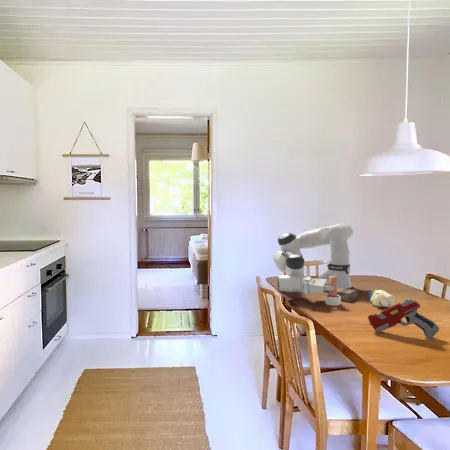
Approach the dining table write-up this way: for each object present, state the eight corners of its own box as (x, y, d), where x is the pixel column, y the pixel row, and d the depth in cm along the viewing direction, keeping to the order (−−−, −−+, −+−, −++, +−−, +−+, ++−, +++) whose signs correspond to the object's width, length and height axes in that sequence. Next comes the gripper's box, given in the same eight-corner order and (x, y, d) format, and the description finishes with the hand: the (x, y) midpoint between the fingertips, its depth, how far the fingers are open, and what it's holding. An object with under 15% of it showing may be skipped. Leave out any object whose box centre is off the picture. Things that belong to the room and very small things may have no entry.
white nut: (323, 305, 213) (323, 296, 213) (329, 302, 219) (329, 293, 219) (336, 307, 209) (336, 298, 208) (342, 304, 214) (342, 295, 214)
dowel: (327, 303, 214) (327, 276, 213) (330, 302, 217) (331, 275, 216) (334, 305, 211) (335, 277, 210) (338, 303, 214) (338, 276, 213)
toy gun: (389, 353, 172) (366, 315, 174) (442, 331, 164) (417, 292, 166) (389, 356, 169) (366, 318, 171) (443, 334, 160) (417, 294, 163)
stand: (331, 299, 224) (331, 290, 224) (339, 296, 232) (339, 287, 231) (349, 302, 218) (349, 293, 217) (356, 299, 225) (357, 290, 225)
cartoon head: (389, 316, 202) (362, 305, 221) (403, 305, 204) (375, 294, 223) (382, 302, 200) (356, 292, 218) (396, 291, 202) (369, 281, 221)
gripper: (310, 286, 228) (336, 288, 223) (304, 295, 208) (332, 297, 204) (310, 275, 227) (336, 276, 222) (304, 282, 208) (332, 284, 203)
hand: (334, 286), depth 213 cm, fingers open, 6 cm apart
